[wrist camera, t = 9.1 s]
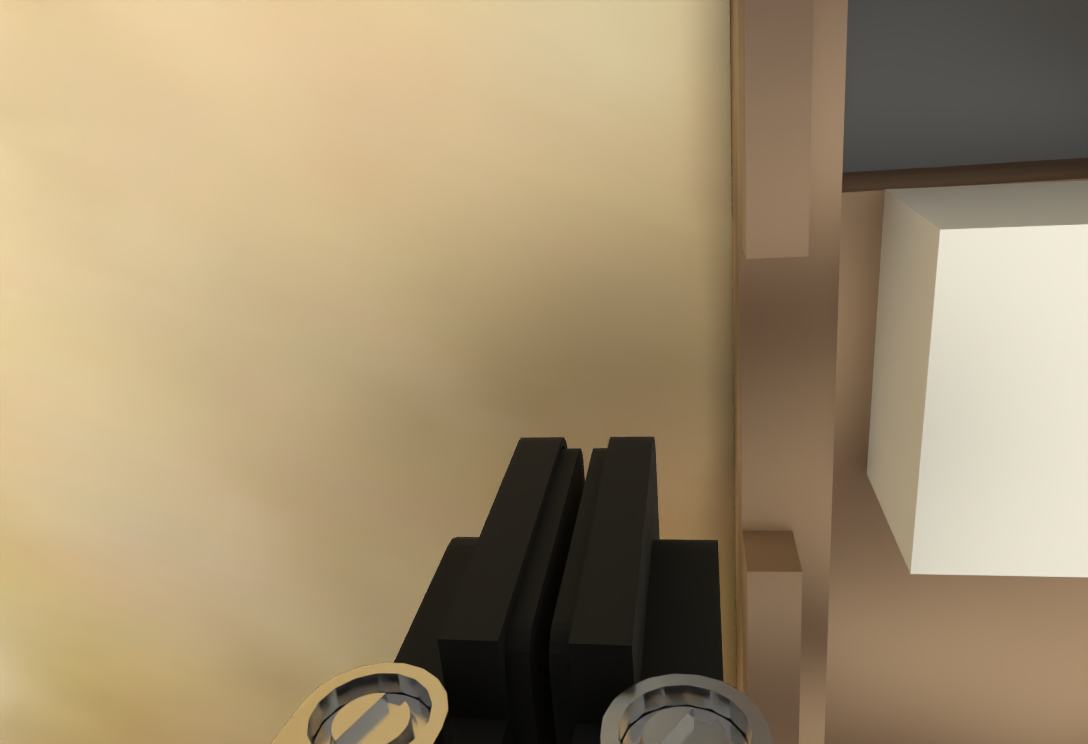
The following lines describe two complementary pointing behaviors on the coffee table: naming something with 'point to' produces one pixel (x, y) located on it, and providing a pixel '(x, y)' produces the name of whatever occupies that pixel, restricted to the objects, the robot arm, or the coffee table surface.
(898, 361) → the ivory block
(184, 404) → the coffee table surface
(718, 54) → the coffee table surface
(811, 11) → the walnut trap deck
